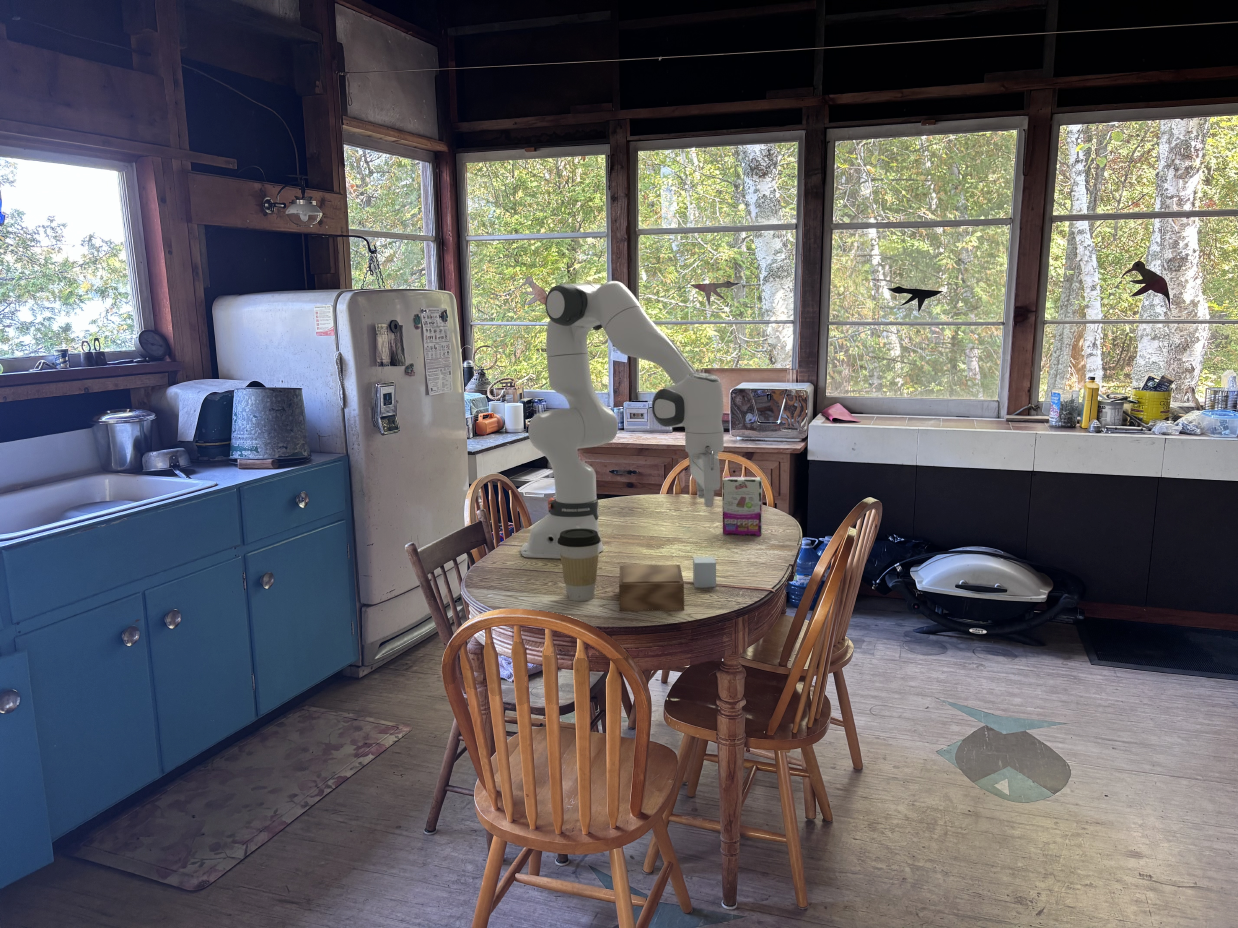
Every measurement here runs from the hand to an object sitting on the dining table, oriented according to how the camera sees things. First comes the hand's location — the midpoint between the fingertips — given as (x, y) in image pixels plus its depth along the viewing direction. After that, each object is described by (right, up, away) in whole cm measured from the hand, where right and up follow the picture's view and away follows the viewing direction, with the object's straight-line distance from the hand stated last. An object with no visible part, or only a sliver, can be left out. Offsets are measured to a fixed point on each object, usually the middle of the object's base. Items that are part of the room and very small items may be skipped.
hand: (705, 502), depth 201 cm
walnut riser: (-13, -22, -7) cm, 26 cm away
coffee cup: (-29, -22, -4) cm, 36 cm away
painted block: (0, -20, +3) cm, 20 cm away
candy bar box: (+16, -11, +48) cm, 52 cm away
